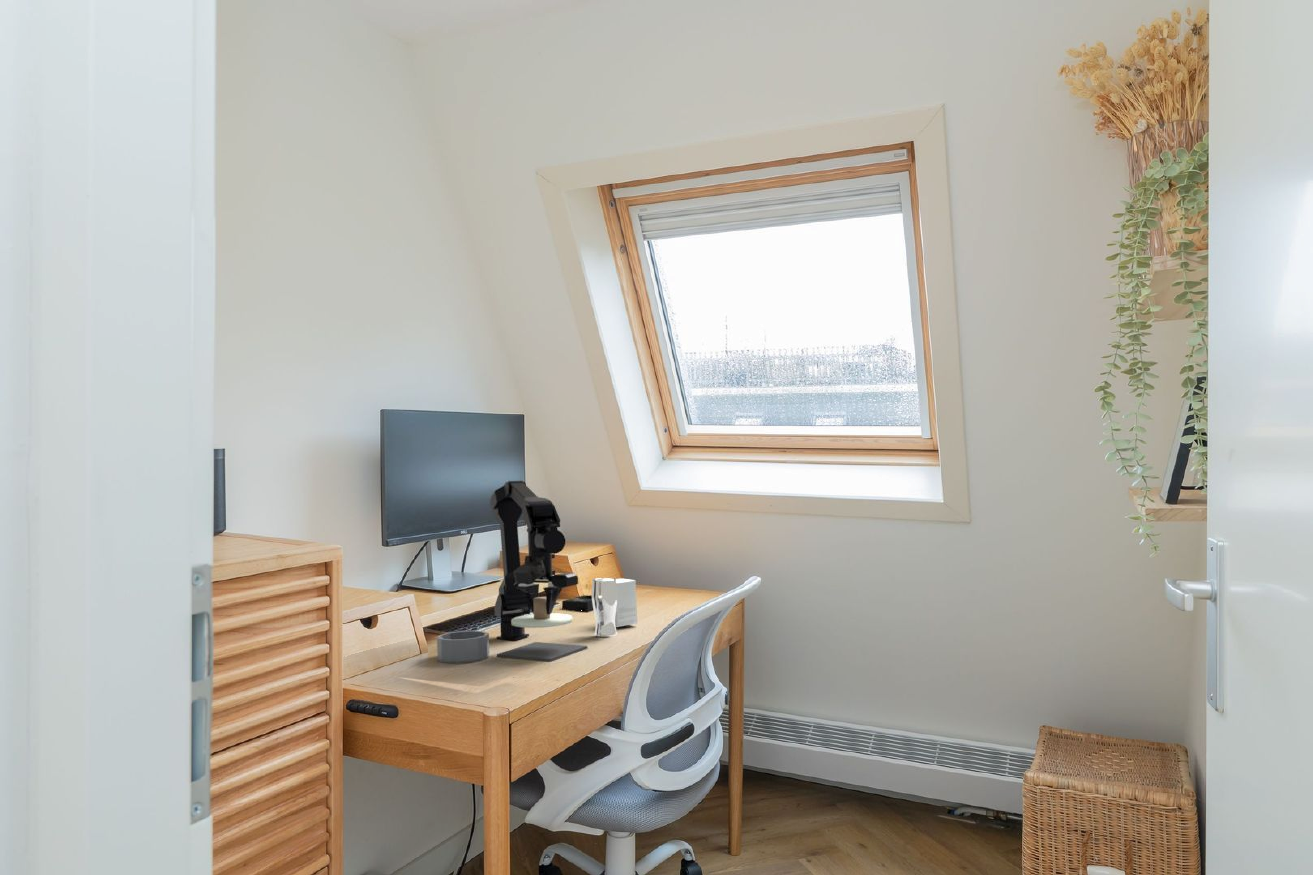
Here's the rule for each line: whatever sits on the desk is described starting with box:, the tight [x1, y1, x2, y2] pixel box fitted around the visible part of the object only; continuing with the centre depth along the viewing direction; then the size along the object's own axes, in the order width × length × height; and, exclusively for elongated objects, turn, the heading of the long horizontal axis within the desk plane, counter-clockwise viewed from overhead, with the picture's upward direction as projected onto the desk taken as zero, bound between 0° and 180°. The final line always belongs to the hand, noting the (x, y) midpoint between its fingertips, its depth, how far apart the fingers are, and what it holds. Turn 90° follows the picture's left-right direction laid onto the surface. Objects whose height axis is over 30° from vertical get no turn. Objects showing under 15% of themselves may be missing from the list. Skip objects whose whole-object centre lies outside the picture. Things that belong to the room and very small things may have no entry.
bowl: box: [436, 630, 490, 664], centre depth 221 cm, size 12×12×6 cm
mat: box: [496, 641, 588, 662], centre depth 225 cm, size 16×16×1 cm
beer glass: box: [591, 577, 618, 638], centre depth 246 cm, size 7×7×15 cm
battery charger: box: [561, 594, 594, 613], centre depth 291 cm, size 13×10×4 cm
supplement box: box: [615, 578, 638, 628], centre depth 262 cm, size 7×7×13 cm
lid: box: [511, 596, 573, 629], centre depth 225 cm, size 15×15×6 cm
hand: (541, 613), depth 225 cm, fingers closed on lid, 4 cm apart
